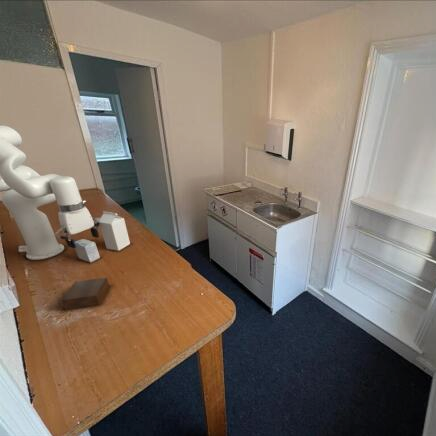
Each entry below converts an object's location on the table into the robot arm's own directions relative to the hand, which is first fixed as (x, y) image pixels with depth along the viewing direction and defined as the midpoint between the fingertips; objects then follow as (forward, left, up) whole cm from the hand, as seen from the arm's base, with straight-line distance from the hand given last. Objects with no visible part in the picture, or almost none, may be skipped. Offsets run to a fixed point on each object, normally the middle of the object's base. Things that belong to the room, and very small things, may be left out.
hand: (84, 241), depth 104 cm
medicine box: (0, 0, -9) cm, 9 cm away
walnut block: (+10, -28, -9) cm, 31 cm away
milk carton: (+9, +9, -9) cm, 16 cm away
